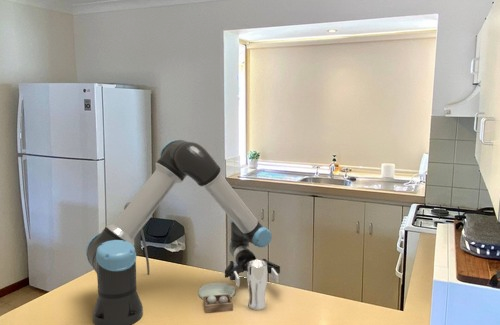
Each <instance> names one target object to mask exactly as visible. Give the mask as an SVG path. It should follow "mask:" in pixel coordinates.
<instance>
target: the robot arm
mask: <svg viewBox="0 0 500 325" xmlns="http://www.w3.org/2000/svg"><path fill="white" fill-rule="evenodd" d="M159 156H160V157H159V158H158V160H157V161H156V162H155V170H154V172H153V173H152V174H151V175H150V176H149V178H148V179H147V181H146V182H145V183H144V185H143V186H142V187H141V189H140V190H139V191H138V192H137V193H136V194H135V195H134V197H133V198H132V200H131V201H129V202H130V204H129V205H128V206H127V208H126V209H125V210H123V211H122V212H121V214H120V215H119V216H118V218H117V219H116V220H115V221H114V223H113V224H108V225H106V226H105V227H104V228H103V229H102V231H101V232H100V233H97V234H95V235H94V236H92V238H90V239H89V241H88V243H87V245H86V250H85V252H86V253H85V254H86V258H87V261H88V263H89V264H90V266H91V267H92V268H93V270H94V271H95V273H96V276H97V277H96V278H97V298H96V301H95V305H94V308H93V311H92V321H93V323H94V324H95V325H133V324H135V323H136V322H138V321H139V320H141V318H142V317H143V315H144V314H143V313H144V307H143V303H142V302H141V301H142V300H141V298H140V296H139V293H138V290H137V253H136V249H135V238H136V236H137V235H138V234H139V233H140V230H141V228H142V229H143V227H144V225H145V224H146V222H148V220H149V219H150V218H151V217H152V215H153V214H154V212H155V211H156V210H157V208H159V206H160V204H161V203H162V202H163V201H164V199H165V198H166V197H167V196H168V194H169V193H170V191H171V190H172V189H173V188H174V187H175V185H176V184H179V183H180V184H181V183H182V182H183V181H184V180H185V178H186V177H189V178H190V179H192V180H193V181H194V182H195V183H196V184H197V185H198V186H199V187H203V188H205V190H206V191H207V193H208V194H209V195H210V196H211V197H212V198H213V199H214V201H215V202H216V203H217V204H218V205H219V206H220V208H221V209H222V211H223V212H224V213H225V214H226V215H227V217H229V218H230V241H229V245H228V248H229V253H230V254H231V256H232V258H233V259H234V261H235V262H234V261H233V260H230V261H229V265H228V266H227V267H226V269H224V278H226V279H227V278H229V279H230V281H234V282H235V284H236V286H237V287H240V284H241V282H240V277H239V274H240V273H244V272H247V266H248V262H249V261H252V260H258V259H257V257H256V255H255V254H254V252H253V251H252V249H251V248H250V244H252V245H254V246H255V247H259V248H265V247H268V245H269V244H270V243H271V242H272V232H271V231H270V229H268V228H267V227H266V226H263V225H262V224H261V222H260V221H259V220H258V219H257V218H256V216H255V215H254V213H252V211H251V210H250V208H249V207H248V206H247V205H246V204H245V202H244V201H243V200H242V198H241V197H240V196H239V194H237V192H236V191H235V189H234V188H233V187H232V186H231V184H229V182H228V181H227V179H226V178H225V177H224V176H223V174H222V173H221V171H222V168H221V167H220V166H219V165H218V163H217V162H216V161H215V159H214V158H213V156H212V155H210V153H209V152H208V151H207V149H205V148H204V147H203V146H202V145H201V144H199V143H197V142H194V141H192V142H191V141H187V140H184V139H175V140H170V141H168V142H167V143H166V144H165V145H164V146H162V149H161V150H160V155H159ZM262 261H265V262H267V271H268V274H270V276H271V277H272V280H274V281H275V283H276V284H278V283H279V276H280V275H279V274H280V273H281V266H280V265H278V264H276V263H273V262H271V261H268V260H267V259H266V258H262Z"/></svg>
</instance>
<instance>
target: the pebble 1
mask: <svg viewBox="0 0 500 325" xmlns="http://www.w3.org/2000/svg"><path fill="white" fill-rule="evenodd" d="M216 301H217V300H216V297H215V296H213V295H211V296H209V297H208V298H207V303H208V304H209V305H211V304H215V303H216Z"/></svg>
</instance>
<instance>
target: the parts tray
mask: <svg viewBox="0 0 500 325" xmlns="http://www.w3.org/2000/svg"><path fill="white" fill-rule="evenodd" d="M213 296H215V297H216V300H217V301H216V303H215V304H211V305H209V304H208V303H207V298H208V297H209V296H203V299H202V300H203V308H204V311H205V314H211V313H220V312H231V311H232V312H233V310H234V302H233V300H232V298H231V297H230V294H223V295H213ZM221 296H226V297H227V298H228V303H221V304H219V298H220V297H221Z"/></svg>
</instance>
